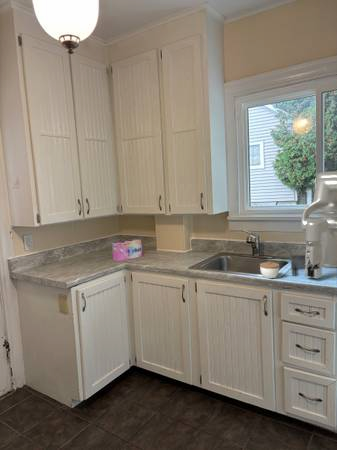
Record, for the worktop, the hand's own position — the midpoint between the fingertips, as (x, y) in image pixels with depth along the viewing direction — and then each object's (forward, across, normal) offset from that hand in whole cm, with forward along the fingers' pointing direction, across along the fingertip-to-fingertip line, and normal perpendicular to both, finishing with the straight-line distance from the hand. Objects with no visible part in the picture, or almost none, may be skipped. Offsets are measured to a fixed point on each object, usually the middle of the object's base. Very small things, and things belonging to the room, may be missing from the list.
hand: (313, 275), depth 185 cm
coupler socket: (+3, +8, +12) cm, 14 cm away
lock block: (+1, 0, 0) cm, 1 cm away
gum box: (+2, -45, +128) cm, 136 cm away
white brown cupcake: (+2, -13, +19) cm, 23 cm away
